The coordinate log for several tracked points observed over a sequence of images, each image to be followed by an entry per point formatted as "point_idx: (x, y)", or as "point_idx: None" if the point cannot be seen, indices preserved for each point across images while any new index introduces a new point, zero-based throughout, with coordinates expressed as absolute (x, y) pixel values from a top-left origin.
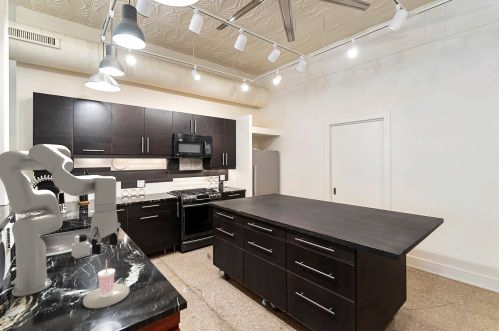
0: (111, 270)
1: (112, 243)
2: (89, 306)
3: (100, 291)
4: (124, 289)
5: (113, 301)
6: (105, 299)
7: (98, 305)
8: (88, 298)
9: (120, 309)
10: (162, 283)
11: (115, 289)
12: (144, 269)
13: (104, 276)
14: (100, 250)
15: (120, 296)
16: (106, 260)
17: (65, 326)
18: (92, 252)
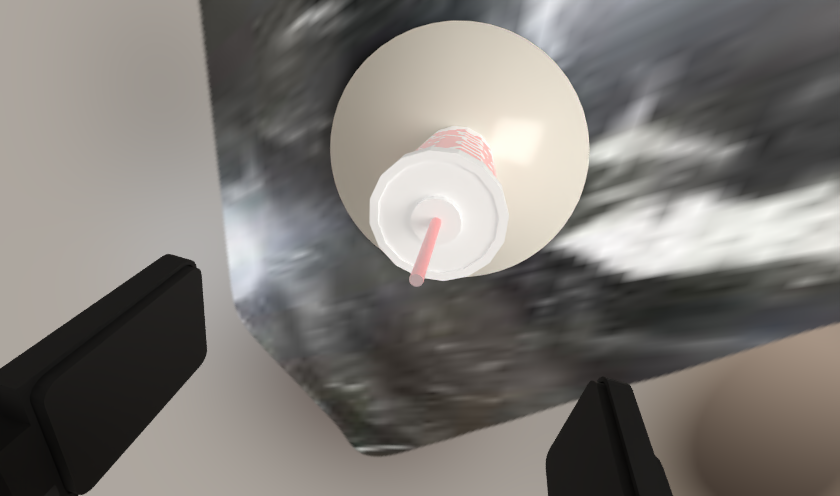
0: (468, 247)
1: (572, 441)
2: (335, 116)
3: (421, 145)
4: None
5: (369, 230)
6: None
7: (336, 167)
8: (414, 64)
9: (334, 267)
10: (544, 397)
11: None
12: (817, 284)
13: (376, 222)
14: (161, 398)
15: None
16: (412, 279)
17: (206, 64)
18: (154, 272)
